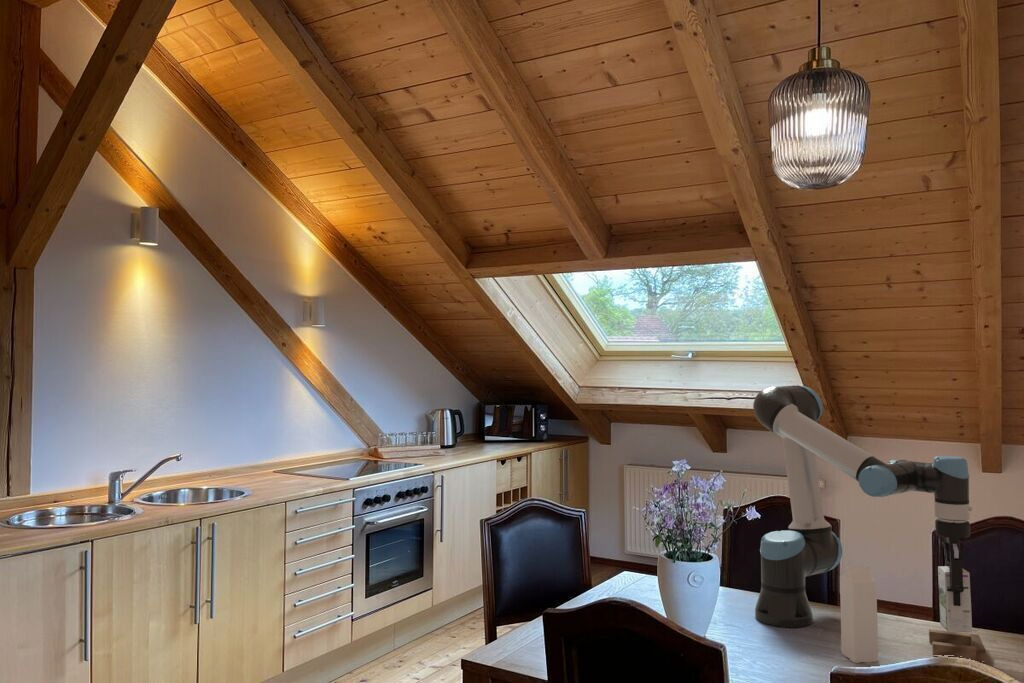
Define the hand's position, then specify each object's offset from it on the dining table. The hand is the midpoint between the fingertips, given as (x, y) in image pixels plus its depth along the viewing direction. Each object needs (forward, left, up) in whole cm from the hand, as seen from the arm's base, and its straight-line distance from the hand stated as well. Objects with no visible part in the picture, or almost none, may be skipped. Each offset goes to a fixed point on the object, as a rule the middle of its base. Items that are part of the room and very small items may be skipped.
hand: (955, 614), depth 193 cm
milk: (-22, -13, -9) cm, 27 cm away
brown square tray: (-1, 0, -9) cm, 9 cm away
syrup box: (0, 0, -4) cm, 4 cm away
